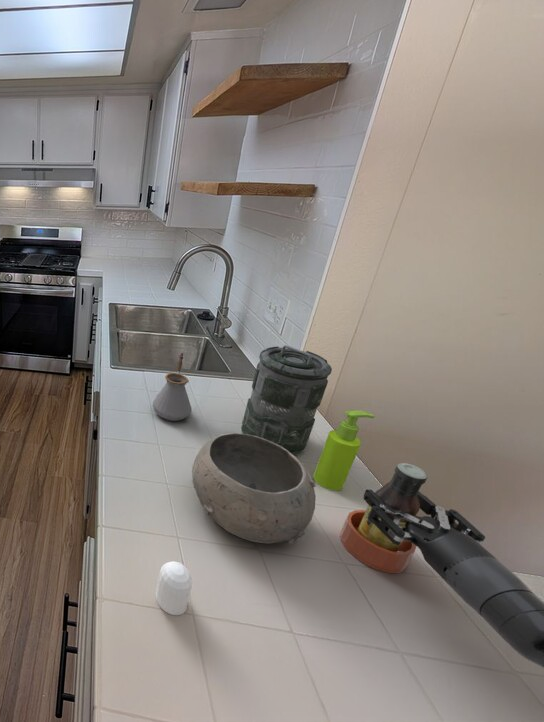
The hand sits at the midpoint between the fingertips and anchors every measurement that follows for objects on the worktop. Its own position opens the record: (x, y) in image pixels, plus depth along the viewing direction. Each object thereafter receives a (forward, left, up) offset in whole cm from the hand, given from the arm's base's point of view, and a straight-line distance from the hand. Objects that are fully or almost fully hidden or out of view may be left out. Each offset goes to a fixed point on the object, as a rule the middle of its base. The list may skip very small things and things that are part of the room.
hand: (389, 493), depth 73 cm
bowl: (+22, +5, -13) cm, 27 cm away
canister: (+18, -28, -13) cm, 36 cm away
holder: (-1, +1, -13) cm, 13 cm away
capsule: (+30, +33, -13) cm, 47 cm away
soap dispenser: (+5, -17, -13) cm, 22 cm away
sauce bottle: (-1, +1, -13) cm, 13 cm away
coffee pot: (+46, -30, -13) cm, 57 cm away
